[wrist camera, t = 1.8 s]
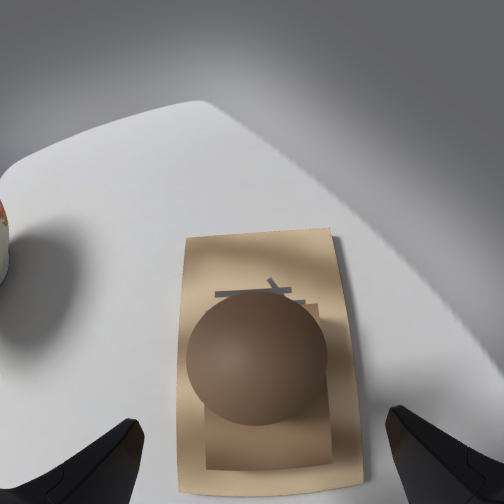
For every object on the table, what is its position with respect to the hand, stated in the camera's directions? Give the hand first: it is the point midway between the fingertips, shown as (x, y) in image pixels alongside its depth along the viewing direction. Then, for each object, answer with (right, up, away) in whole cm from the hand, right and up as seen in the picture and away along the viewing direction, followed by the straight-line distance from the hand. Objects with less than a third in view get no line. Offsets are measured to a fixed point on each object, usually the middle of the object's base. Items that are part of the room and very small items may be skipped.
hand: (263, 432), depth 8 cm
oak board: (+1, -1, +11) cm, 11 cm away
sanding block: (+1, -3, +9) cm, 9 cm away
